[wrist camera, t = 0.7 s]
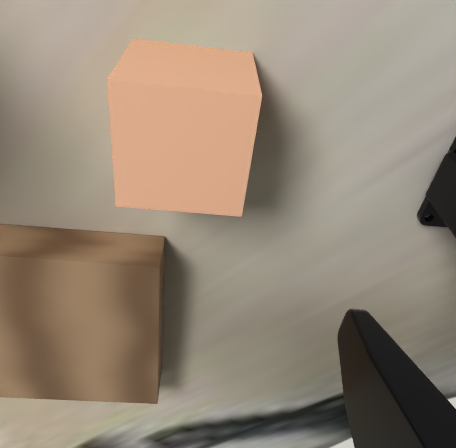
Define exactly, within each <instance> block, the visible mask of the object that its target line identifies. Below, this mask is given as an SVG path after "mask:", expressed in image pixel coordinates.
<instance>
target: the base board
mask: <svg viewBox="0 0 456 448" xmlns="http://www.w3.org/2000/svg"><path fill="white" fill-rule="evenodd" d="M164 240H165V237H163V236H150V235H137V234H124V233H111V232H98V231H85V230H72V229H59V228H46V227H32V226H19V225H6V224H0V397H10V398H33V399H57V400H80V401H104V402H128V403H151V404H157V403H158V395H159V387H160V379H161V363H162V322H163V281H164Z"/></svg>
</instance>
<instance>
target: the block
mask: <svg viewBox="0 0 456 448" xmlns="http://www.w3.org/2000/svg"><path fill="white" fill-rule="evenodd" d="M107 87H108V102H109V116H110V131H111V146H112V160H113V175H114V190H115V205H116V206H117V207H129V208H141V209H154V210H166V211H178V212H190V213H203V214H215V215H227V216H239V217H242V212H243V206H244V200H245V194H246V189H247V183H248V177H249V171H250V165H251V159H252V153H253V147H254V141H255V135H256V130H257V124H258V118H259V112H260V106H261V100H262V92H261V88H260V83H259V79H258V74H257V70H256V66H255V61H254V57H253V53H251V52H242V51H234V50H225V49H216V48H208V47H199V46H191V45H182V44H173V43H165V42H156V41H147V40H139V39H132V41H131V42H130V44H129V46H128V47H127V49H126V50H125V52H124V53H123V55H122V56H121V58H120V60H119V61H118V63H117V64H116V66H115V67H114V69H113V70H112V72H111V74H110V75H109V77H108V78H107Z"/></svg>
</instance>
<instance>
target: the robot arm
mask: <svg viewBox="0 0 456 448" xmlns="http://www.w3.org/2000/svg"><path fill="white" fill-rule="evenodd" d="M430 214H431V215H430ZM427 215H430V216H428V217H426V216H427ZM417 218H418V220H419V221H420V223H421V224H422V225H427V226H439V227H448V228H449V230H450V231H451V232H452V234H453V235H454V237H455V238H456V138H455V140H454V142H453V144H452V146H451V148H450V150H449V152H448V153H447V154H446V155H445V157H444V159H443V161H442V163H441V165H440V167H439V169H438V171H437V173H436V175H435V177H434V179H433V181H432V183H431V185H430V187H429V189H428V191H427V193H426V197H425V199H424V201H423V203H422V205H421V207H420V209H419V211H418V214H417ZM338 348H339V357H340V366H341V375H342V384H343V393H344V400H345V406H346V411H347V416H348V420H349V425H350V429H351V434H352V438H353V443H354V447H355V448H456V409H455V408H454V407H453V406H452V405H451V403H450V402H449V401H448V400H447V399H446V398H445V397H444V396H443V394H442V393H441V392H440V391H439V390H438V389H437V388H436V387H435V386H434V384H433V383H432V382H431V381H430V380H429V379H428V378H427V377H426V376H425V374H424V373H423V372H422V371H421V370H420V369H419V368H418V367H417V366H416V365H415V363H414V362H413V361H412V360H411V359H410V358H409V357H408V356H407V355H406V353H405V352H404V351H403V350H402V349H401V348H400V347H399V346H398V345H397V343H396V342H395V341H394V340H393V339H392V338H391V337H390V336H389V335H388V333H387V332H386V331H385V330H384V329H383V328H382V327H381V326H380V325H379V324H378V322H377V321H376V320H375V319H374V318H373V317H372V316H371V315H370V314H369V313H368V312H367V311H366V310H360V309H349V310H348V311H347V312H346V314H345V316H344V319H343V321H342V323H341V326H340V328H339V331H338Z"/></svg>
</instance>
